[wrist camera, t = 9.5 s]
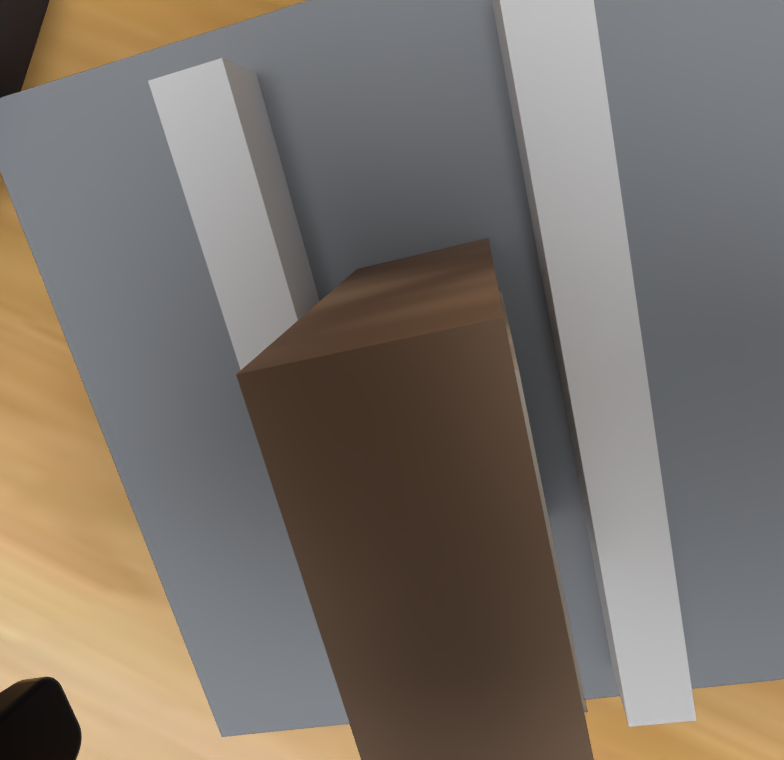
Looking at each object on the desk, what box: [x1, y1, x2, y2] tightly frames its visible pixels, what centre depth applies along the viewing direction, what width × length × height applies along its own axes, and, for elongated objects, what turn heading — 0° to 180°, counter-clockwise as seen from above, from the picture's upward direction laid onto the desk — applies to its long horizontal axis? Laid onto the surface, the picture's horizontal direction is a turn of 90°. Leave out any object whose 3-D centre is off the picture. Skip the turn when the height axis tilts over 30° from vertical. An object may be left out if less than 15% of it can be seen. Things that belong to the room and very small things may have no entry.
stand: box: [0, 0, 784, 737], centre depth 15 cm, size 18×18×4 cm
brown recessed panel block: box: [236, 238, 594, 760], centre depth 12 cm, size 3×7×8 cm, turn 13°
